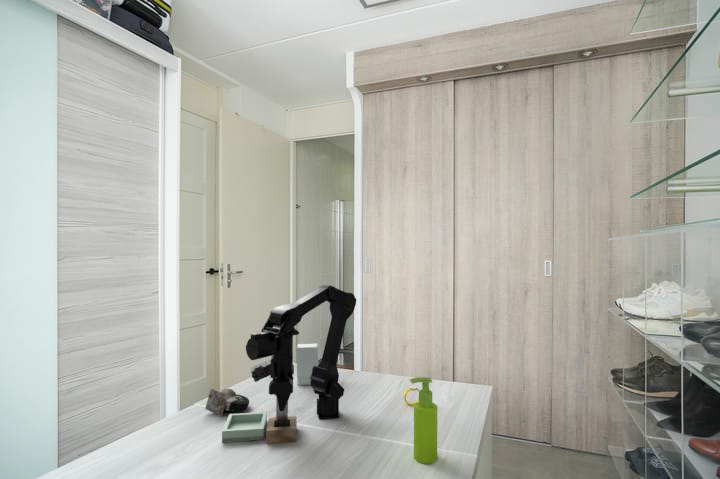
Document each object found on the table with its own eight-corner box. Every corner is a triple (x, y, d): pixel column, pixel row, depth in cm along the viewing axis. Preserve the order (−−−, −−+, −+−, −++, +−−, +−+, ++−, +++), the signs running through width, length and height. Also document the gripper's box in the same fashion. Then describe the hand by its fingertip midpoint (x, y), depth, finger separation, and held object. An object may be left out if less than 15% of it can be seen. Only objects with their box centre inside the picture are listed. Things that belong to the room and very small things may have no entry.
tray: (266, 421, 118) (266, 411, 118) (263, 439, 107) (263, 428, 107) (229, 424, 116) (229, 414, 116) (221, 442, 105) (222, 431, 105)
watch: (419, 403, 133) (420, 385, 133) (422, 406, 130) (423, 388, 131) (402, 402, 132) (403, 385, 133) (404, 406, 130) (406, 388, 130)
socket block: (296, 428, 114) (296, 416, 114) (296, 441, 106) (296, 428, 106) (268, 430, 112) (268, 417, 112) (266, 443, 104) (266, 430, 105)
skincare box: (318, 380, 155) (319, 342, 155) (317, 385, 149) (317, 346, 149) (297, 380, 155) (298, 342, 155) (295, 385, 149) (296, 346, 149)
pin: (290, 421, 112) (290, 387, 112) (289, 428, 107) (289, 392, 107) (274, 422, 111) (274, 387, 111) (273, 430, 107) (273, 393, 107)
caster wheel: (250, 414, 129) (232, 422, 120) (223, 402, 133) (203, 409, 123) (256, 394, 130) (238, 400, 120) (229, 383, 133) (209, 388, 124)
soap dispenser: (407, 452, 101) (407, 374, 101) (433, 451, 101) (433, 374, 102) (412, 464, 95) (412, 382, 95) (440, 463, 95) (440, 382, 96)
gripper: (257, 345, 117) (256, 396, 117) (249, 363, 99) (248, 424, 99) (294, 343, 119) (293, 394, 119) (293, 361, 101) (292, 422, 100)
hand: (282, 407), depth 109 cm, fingers closed on pin, 4 cm apart
